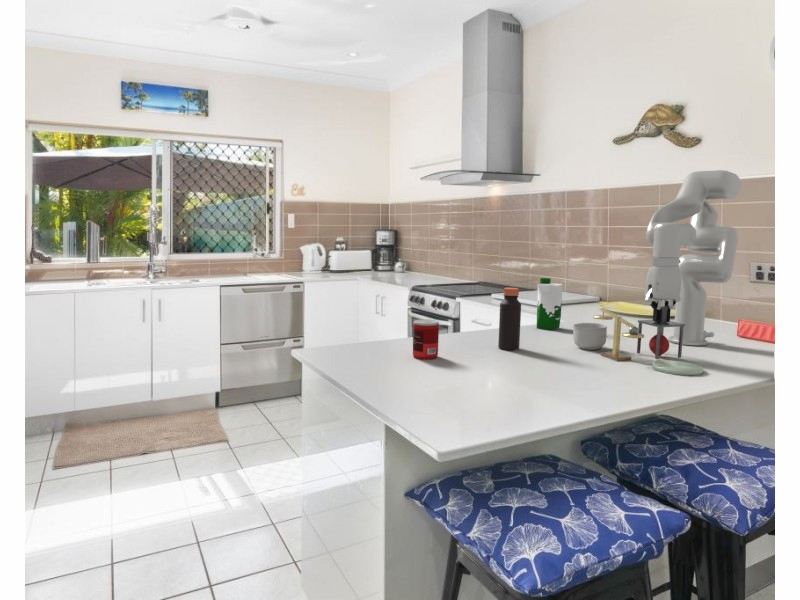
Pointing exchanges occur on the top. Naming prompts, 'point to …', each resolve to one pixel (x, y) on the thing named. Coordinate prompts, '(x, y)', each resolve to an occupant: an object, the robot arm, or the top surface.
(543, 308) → the milk carton
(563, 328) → the top surface
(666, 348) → the onion
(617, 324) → the balance
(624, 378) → the top surface
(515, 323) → the bottle
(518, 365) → the top surface
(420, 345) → the canned food
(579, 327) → the teacup
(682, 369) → the dish
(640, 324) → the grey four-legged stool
